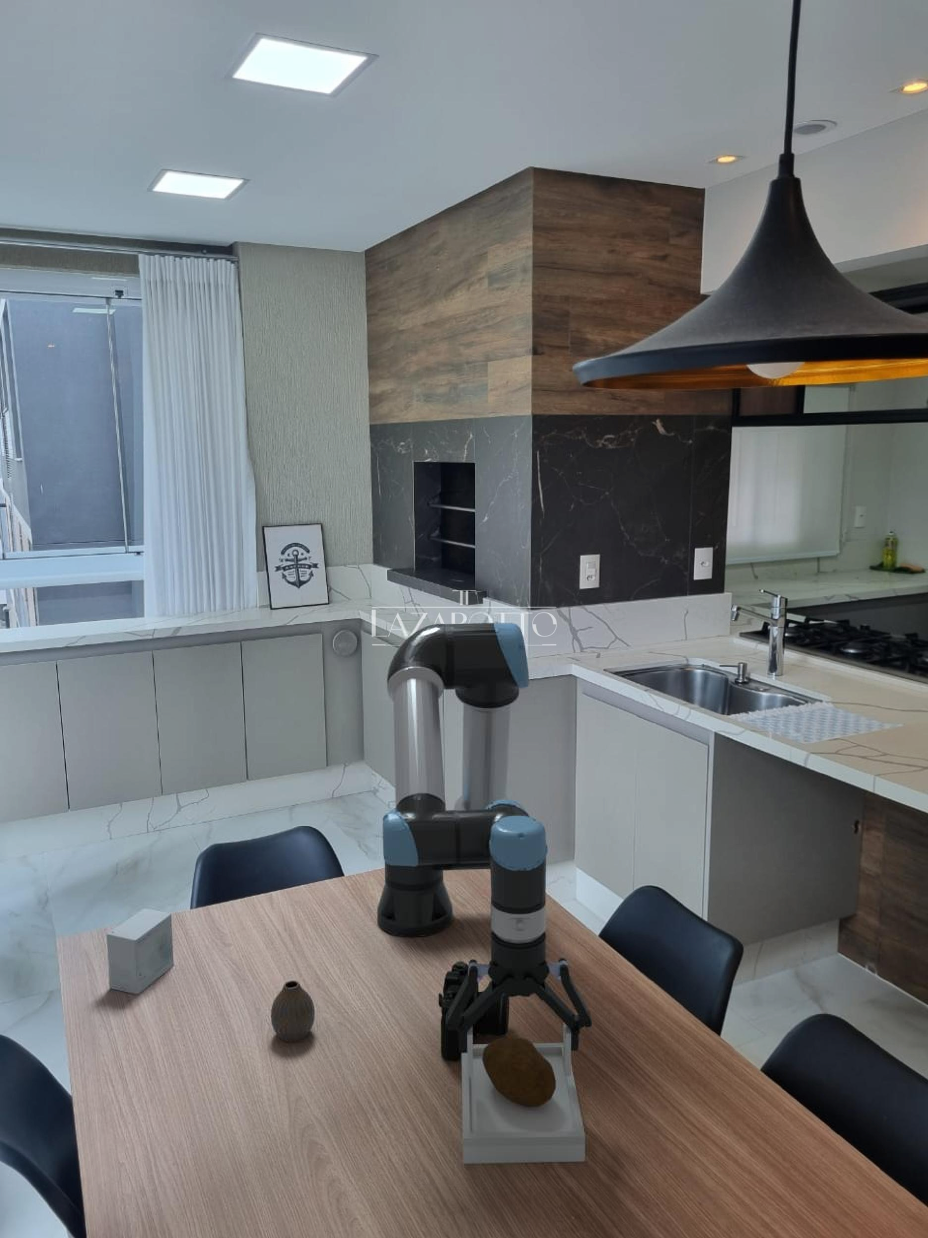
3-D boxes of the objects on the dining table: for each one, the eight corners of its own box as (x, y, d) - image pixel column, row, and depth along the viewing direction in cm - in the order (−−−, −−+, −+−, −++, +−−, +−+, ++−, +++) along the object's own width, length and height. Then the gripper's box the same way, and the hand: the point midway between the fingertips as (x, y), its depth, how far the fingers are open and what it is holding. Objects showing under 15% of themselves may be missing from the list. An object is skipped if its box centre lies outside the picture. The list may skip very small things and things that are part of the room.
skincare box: (139, 996, 164) (135, 939, 162) (108, 989, 166) (104, 934, 164) (176, 965, 174) (172, 912, 172) (146, 959, 176) (142, 907, 174)
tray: (461, 1067, 144) (461, 1044, 143) (566, 1065, 144) (567, 1043, 143) (463, 1164, 124) (462, 1138, 124) (584, 1161, 124) (585, 1136, 124)
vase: (263, 1035, 152) (260, 985, 151) (297, 1017, 157) (295, 968, 156) (289, 1053, 148) (286, 1001, 146) (324, 1033, 153) (322, 983, 151)
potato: (537, 1128, 127) (537, 1076, 126) (465, 1090, 135) (464, 1041, 133) (569, 1096, 133) (570, 1046, 132) (499, 1062, 141) (499, 1014, 140)
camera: (502, 1067, 144) (502, 1007, 142) (433, 1061, 146) (432, 1001, 144) (512, 1014, 157) (512, 959, 156) (449, 1009, 159) (448, 954, 157)
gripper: (426, 946, 126) (429, 1090, 129) (614, 943, 126) (611, 1086, 130) (427, 918, 133) (430, 1055, 137) (605, 916, 133) (603, 1052, 137)
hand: (518, 1071), depth 133 cm, fingers open, 13 cm apart
